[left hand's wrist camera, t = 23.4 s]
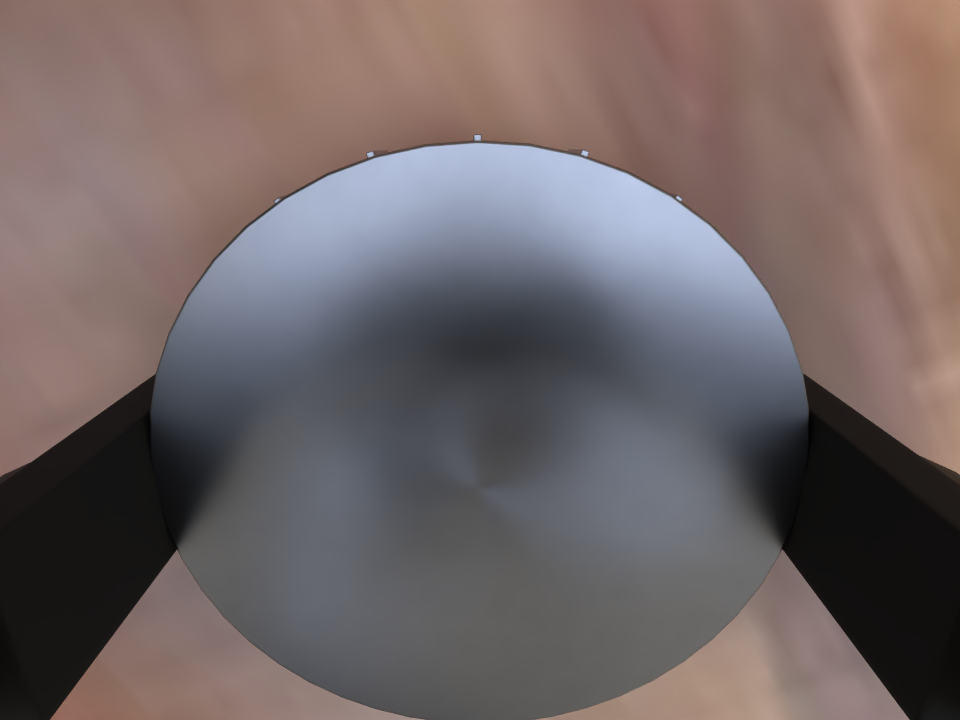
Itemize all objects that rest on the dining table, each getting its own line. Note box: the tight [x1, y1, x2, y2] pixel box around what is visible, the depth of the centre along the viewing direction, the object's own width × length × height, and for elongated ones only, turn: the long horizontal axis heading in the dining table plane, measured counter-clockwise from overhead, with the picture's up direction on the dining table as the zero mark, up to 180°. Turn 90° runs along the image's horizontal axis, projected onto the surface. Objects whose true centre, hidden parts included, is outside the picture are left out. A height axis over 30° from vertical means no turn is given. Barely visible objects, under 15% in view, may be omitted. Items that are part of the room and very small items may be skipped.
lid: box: [150, 135, 810, 720], centre depth 11 cm, size 11×11×2 cm
